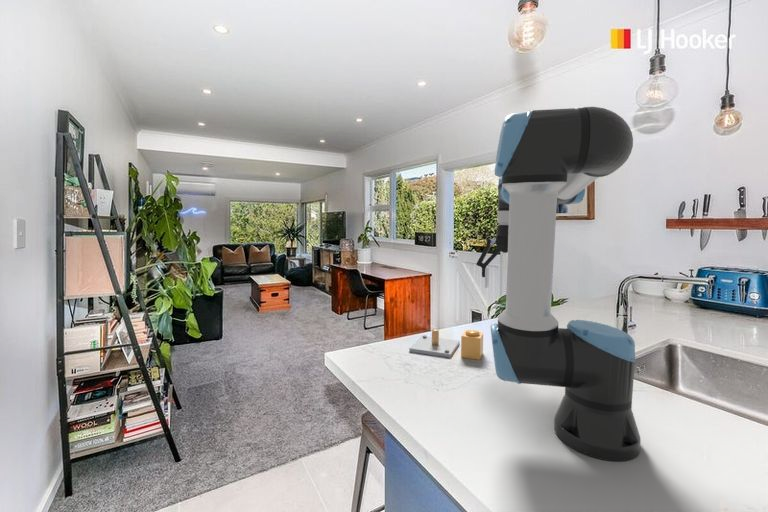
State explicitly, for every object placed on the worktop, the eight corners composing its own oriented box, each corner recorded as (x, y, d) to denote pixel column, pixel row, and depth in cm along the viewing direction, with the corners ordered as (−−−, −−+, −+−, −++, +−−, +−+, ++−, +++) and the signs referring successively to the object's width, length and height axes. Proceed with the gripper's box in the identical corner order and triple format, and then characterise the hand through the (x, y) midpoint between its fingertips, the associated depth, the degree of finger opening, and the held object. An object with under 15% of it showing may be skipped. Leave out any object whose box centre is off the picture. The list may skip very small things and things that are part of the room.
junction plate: (450, 357, 116) (450, 339, 115) (409, 351, 121) (409, 333, 121) (459, 343, 129) (459, 327, 128) (422, 338, 134) (422, 322, 134)
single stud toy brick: (480, 359, 114) (480, 335, 113) (461, 357, 116) (461, 333, 116) (482, 353, 120) (483, 330, 119) (464, 350, 122) (465, 328, 121)
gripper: (551, 223, 115) (549, 289, 117) (473, 223, 126) (472, 283, 128) (551, 224, 108) (548, 293, 111) (468, 224, 119) (467, 287, 121)
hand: (507, 288), depth 119 cm, fingers open, 13 cm apart
